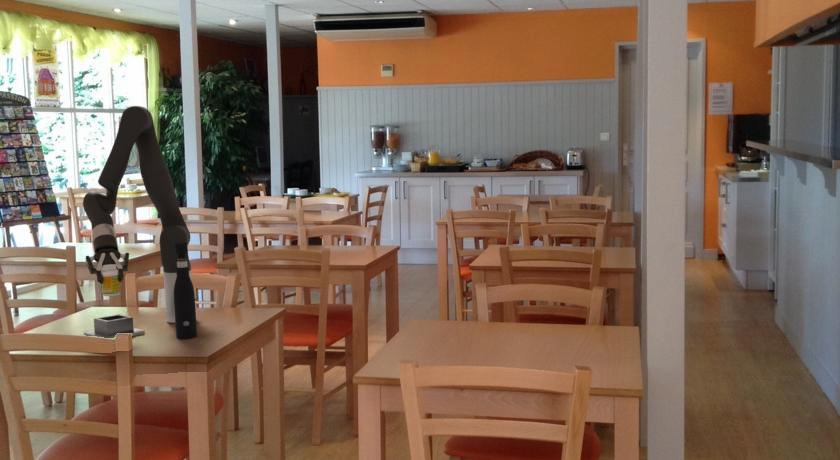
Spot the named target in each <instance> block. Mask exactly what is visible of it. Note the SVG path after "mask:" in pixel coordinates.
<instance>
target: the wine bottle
mask: <svg viewBox="0 0 840 460" xmlns="http://www.w3.org/2000/svg"><path fill="white" fill-rule="evenodd" d="M186 253H188V254H189V247H188V248H187V242H178V243H175V254H177V255H178V260H186ZM187 263H188V262H187V261H177V268H176V272H177V277H176V281H175V285H174V308H175V323H174V325H175V338H176V339H178V340H190V339H195V338H197V337H198V329H197V328H198V327H197V313H196V311H197V310H196V308H197V307H196V295H195V288H194V283H193V281H191V279H190V276H189V267H187Z"/></svg>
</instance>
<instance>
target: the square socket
mask: <svg viewBox="0 0 840 460" xmlns="http://www.w3.org/2000/svg"><path fill="white" fill-rule="evenodd" d="M93 326H94V329H93V330H91V331H86V332H83V336H84V335H86V336H97V337H104V338H114V337H115V335H116V334H117V333H132V334H133V336H132V337H137V336H141V335H145V334H146V333H145V332H146V331H145V330H143V329H139V328H137V327H136V328H135V327H134V317H132V316H128V315H126V314H125V315H124V314H121V313H119V314H113V315H107V316H101V317H94V318H93Z"/></svg>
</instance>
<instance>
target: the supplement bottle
mask: <svg viewBox="0 0 840 460" xmlns="http://www.w3.org/2000/svg"><path fill="white" fill-rule="evenodd" d="M102 271H103V272H102ZM102 271H101V274H102V284H101V290H102V296H103V297H113V296H119V295H120V294H121V290H120V289H121V288H120V282H119V273H118V271H117V270H116V265H115V264H109V265H103V269H102Z"/></svg>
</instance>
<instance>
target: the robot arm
mask: <svg viewBox="0 0 840 460" xmlns="http://www.w3.org/2000/svg"><path fill="white" fill-rule="evenodd" d="M118 125H119V126H118V130H117V134H116V136H115V140H114V143H113V145H112V148H111V150H110V153H109V155H108V157H107V159H106V162H105V164H104V165H103V168H102V170H101V173H100V175H99V177H98V180H97V184H99V186H100V187H102V188H104V189H105V191H106V193H105V194H104V193H101V192H97V191H94V190H93V191H89V192H87V193H86V194H85V195H84V197H83V199H82V206H83V209H84V212H85V215H86V216H87V218H88V221H89V222H90V224H91V231H92V236H91V237H92V245H93V251H94V254H93V255H92V256H90V255H86V256H85V264H86V267H87V268H88V271H89V274H90V275H95V276H96V282H97V283H99V284H101V285H102V271H103V265H109V264H115V265H116V269H115V271H117V272H118V273H119V283H122V282H123V281H124V280H125V279H124V278H125V277H124V272H128V271H129V260H130V253H129V252H126V253H121V252H120V251H119V246H118V239H117V233H116V230H115V226H114V225H115V223H114V220H113V217H112V214H113V213H114V211H115V209H116V206H117V200H118V199H117V198H118V192H119V188H120V185H121V182H122V180H123V179H124V176H125V173H126V171H127V168H128V165H129V161H130V156H131V153H132V149H133V147H134V146H135V145H136V148H137V152H138V163H139V165H138V166H139V172H140V176H141V180H142V182H143V183H142V184H143V185H144V189H145V191H146V194H147V196H148V197H149V199H150V201H151V203H152V204H153V206H154V208H155V209H156V211H157V214H158V215H159V218H160V219H159V220H160V223H161V227H162V231H161V233H160V236H159V251H160V259H161V261H160V263H161V265H162V269H163V285H164V298H165V299H164V300H165V314H166V315H165V316H166V322H167V323H169V324H171V323H173V324H175V308H174V285H175V281H176V277H177V272H176V268H177V261H187V262H188V263H187V267H189V276H190V279H191V281H192V267H191V266H192V265H191V261H190V259H189V252H188V253H186V260H178V255H177V254H175V243H178V242H187V248H188V249H189V247H188V246H189V244H190V242H191V232H190V230H189V227H188V226H187V225H188V224H186V221H185V219H184V216H183V214H182V212H181V210H180V206H179V202H178V199H177V193H176V191H175V188H174V184H173V180H172V177H171V173H170V171H169V168H168V165H167V162H166V160H165V157H164V154H163V152H162V150H161V147H160V144H159V141H158V137H157V134H156V133H157V131H156V128H155V123H154V118H153V115H152V113H151V111H150V110H149V109H148V108H146V107H145V106H141V105H131V106H128V107H127V108H125V109H124V110H123V112H122V114H121V118H120V122H119V124H118ZM119 260H122V261H123V265H122V264H121V262H120V261H119ZM94 261H95V262H96V263H97V267H95V266H94V265H93V263H94ZM192 282H193V281H192Z"/></svg>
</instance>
